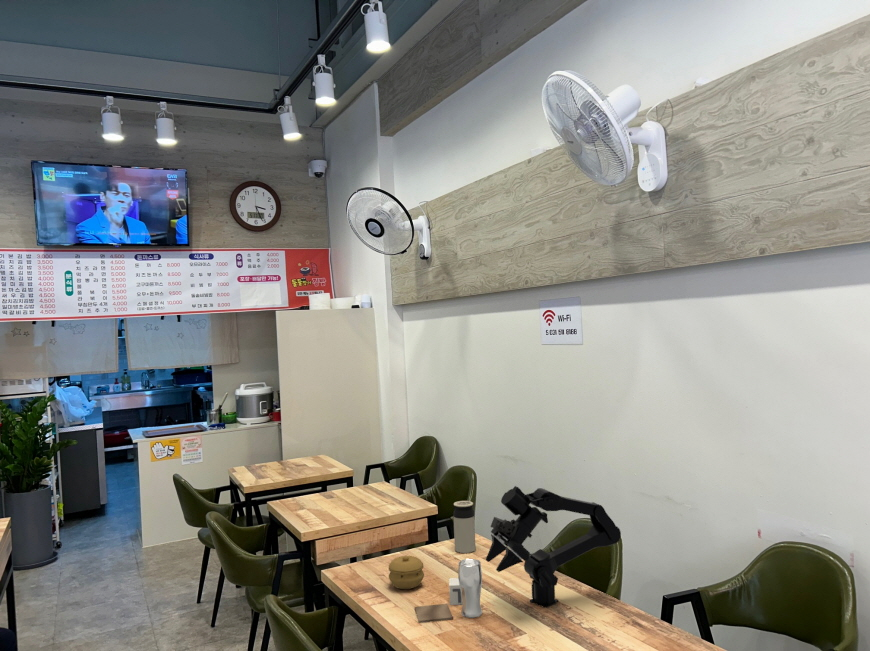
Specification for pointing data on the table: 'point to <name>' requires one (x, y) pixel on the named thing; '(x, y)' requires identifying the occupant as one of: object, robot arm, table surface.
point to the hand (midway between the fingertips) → (491, 565)
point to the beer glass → (470, 587)
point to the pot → (406, 572)
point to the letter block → (455, 592)
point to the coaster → (433, 613)
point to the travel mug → (464, 527)
